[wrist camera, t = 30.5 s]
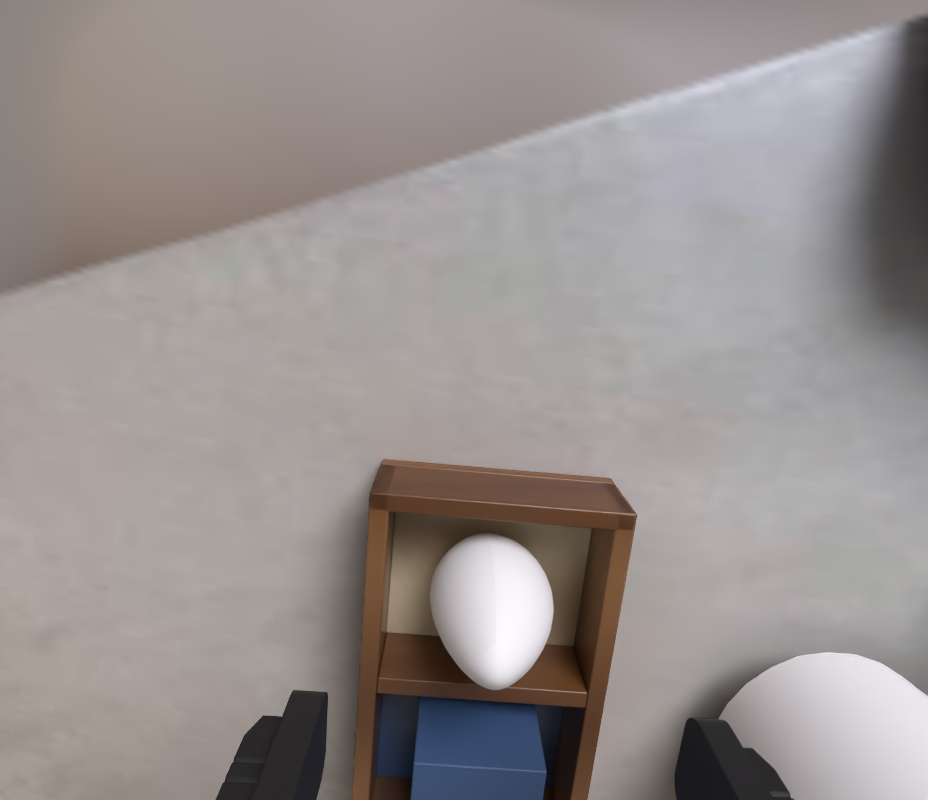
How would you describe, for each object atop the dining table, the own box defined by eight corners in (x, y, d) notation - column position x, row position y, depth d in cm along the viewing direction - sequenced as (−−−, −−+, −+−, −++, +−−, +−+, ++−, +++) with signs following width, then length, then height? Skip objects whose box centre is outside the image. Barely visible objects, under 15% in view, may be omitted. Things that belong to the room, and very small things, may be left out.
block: (421, 669, 20) (413, 763, 17) (530, 677, 21) (547, 772, 17) (414, 760, 21) (404, 869, 18) (518, 766, 22) (531, 876, 18)
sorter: (382, 458, 19) (369, 491, 16) (611, 477, 20) (638, 514, 17) (362, 772, 22) (348, 847, 19) (561, 785, 23) (577, 862, 20)
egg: (488, 634, 20) (499, 766, 15) (411, 569, 20) (394, 682, 14) (563, 566, 20) (603, 677, 14) (486, 496, 19) (498, 586, 14)
